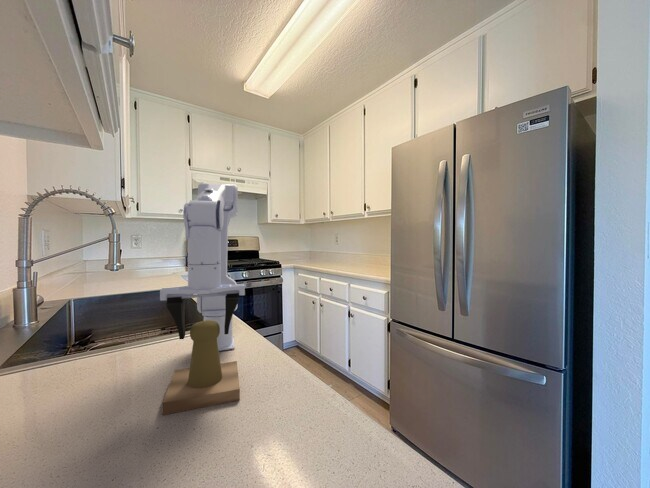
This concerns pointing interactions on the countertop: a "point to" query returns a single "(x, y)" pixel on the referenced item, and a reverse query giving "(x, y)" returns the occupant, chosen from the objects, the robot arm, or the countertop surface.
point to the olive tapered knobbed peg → (204, 355)
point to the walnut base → (201, 390)
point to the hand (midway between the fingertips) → (204, 335)
